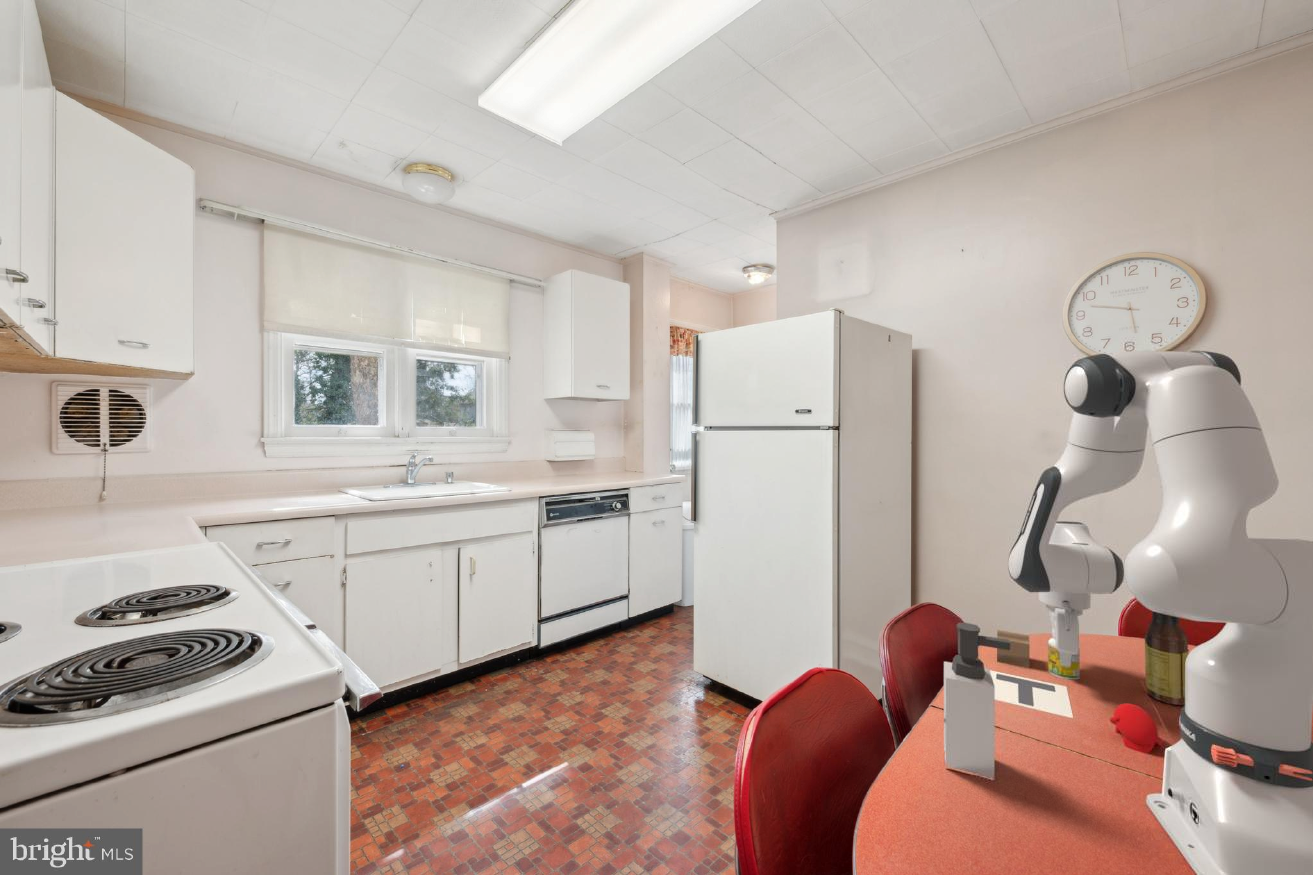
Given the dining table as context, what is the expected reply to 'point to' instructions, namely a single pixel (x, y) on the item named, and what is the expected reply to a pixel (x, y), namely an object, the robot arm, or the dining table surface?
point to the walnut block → (1014, 649)
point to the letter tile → (1032, 693)
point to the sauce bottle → (1166, 659)
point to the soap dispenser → (970, 704)
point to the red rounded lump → (1136, 728)
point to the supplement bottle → (1058, 669)
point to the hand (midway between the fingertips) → (1063, 659)
